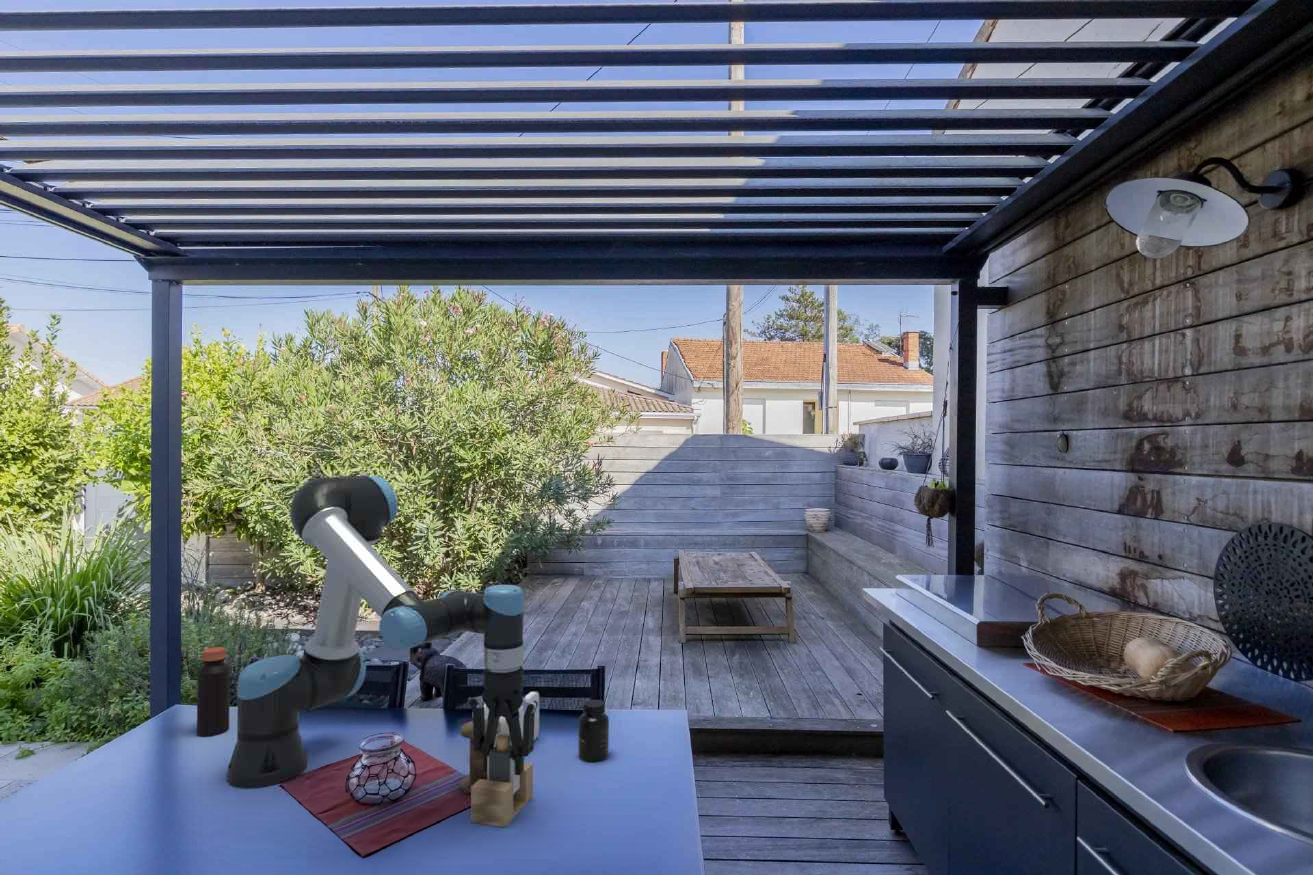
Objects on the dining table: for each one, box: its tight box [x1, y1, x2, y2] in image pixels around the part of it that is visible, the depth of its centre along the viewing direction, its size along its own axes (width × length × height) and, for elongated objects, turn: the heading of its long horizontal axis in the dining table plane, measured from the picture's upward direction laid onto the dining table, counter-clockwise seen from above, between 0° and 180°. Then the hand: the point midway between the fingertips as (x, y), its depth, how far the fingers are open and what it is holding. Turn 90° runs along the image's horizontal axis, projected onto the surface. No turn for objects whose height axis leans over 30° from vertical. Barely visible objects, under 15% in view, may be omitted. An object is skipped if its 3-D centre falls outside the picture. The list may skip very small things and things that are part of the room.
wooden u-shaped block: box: [470, 762, 534, 828], centre depth 138 cm, size 7×12×7 cm, turn 166°
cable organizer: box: [471, 691, 540, 747], centre depth 167 cm, size 15×11×12 cm
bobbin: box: [460, 719, 501, 794], centre depth 148 cm, size 8×8×12 cm
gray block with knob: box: [489, 734, 514, 783], centre depth 138 cm, size 4×4×10 cm
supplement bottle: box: [577, 699, 610, 763], centre depth 162 cm, size 7×7×12 cm
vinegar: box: [196, 646, 231, 737], centre depth 176 cm, size 7×7×20 cm
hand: (503, 788), depth 138 cm, fingers closed on gray block with knob, 4 cm apart
